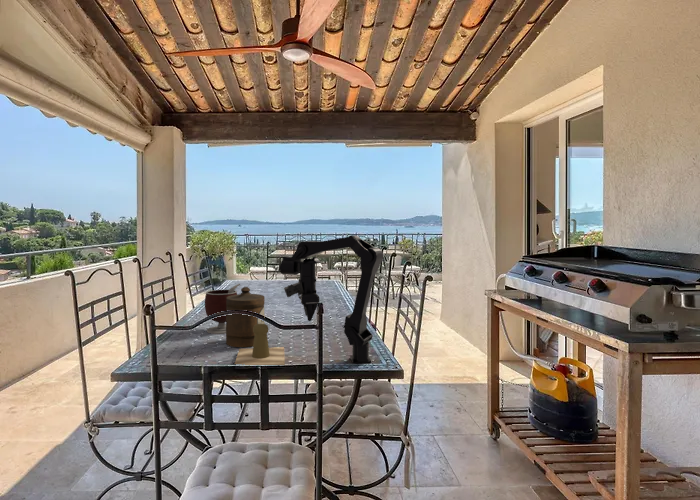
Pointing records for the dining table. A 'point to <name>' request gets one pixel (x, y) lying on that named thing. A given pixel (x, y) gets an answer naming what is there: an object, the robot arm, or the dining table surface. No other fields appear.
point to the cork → (260, 341)
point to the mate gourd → (218, 307)
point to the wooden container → (243, 318)
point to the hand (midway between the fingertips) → (308, 318)
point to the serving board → (273, 359)
